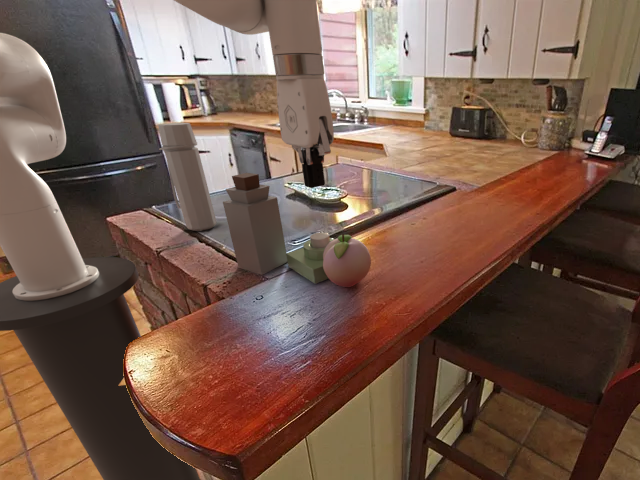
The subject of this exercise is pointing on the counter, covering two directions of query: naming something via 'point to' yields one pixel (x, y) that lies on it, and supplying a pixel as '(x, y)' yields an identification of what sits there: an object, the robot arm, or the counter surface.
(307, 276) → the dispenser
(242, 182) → the perfume bottle
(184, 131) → the water bottle
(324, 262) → the decorative fruit
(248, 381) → the counter surface
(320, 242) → the beige button cap
